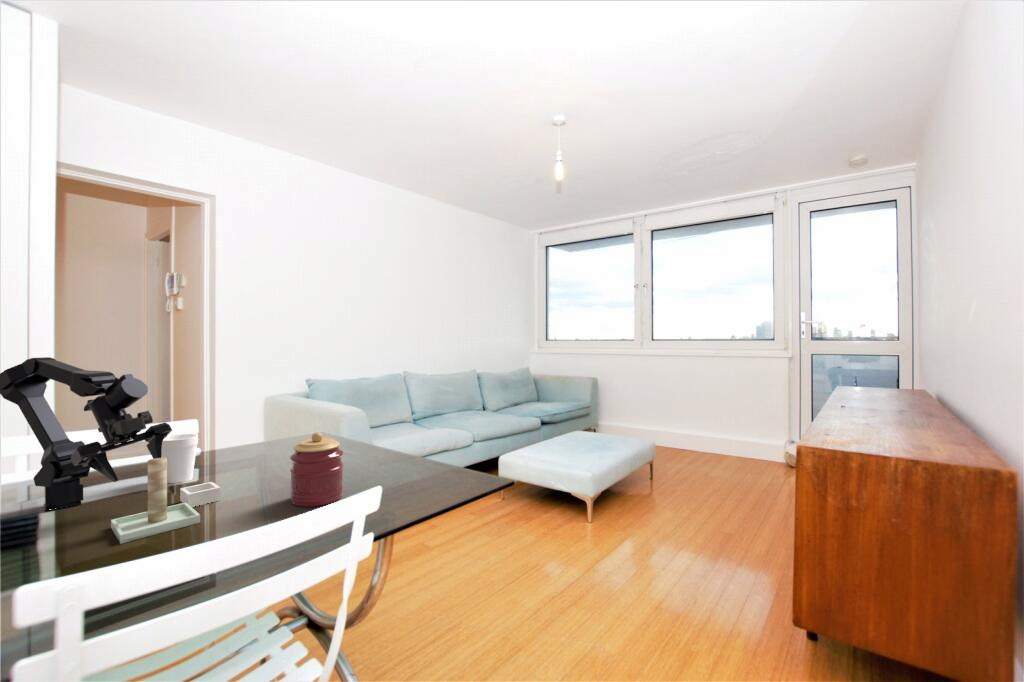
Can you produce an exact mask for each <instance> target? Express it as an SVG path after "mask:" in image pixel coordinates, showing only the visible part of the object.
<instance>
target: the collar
mask: <svg viewBox="0 0 1024 682" xmlns="http://www.w3.org/2000/svg"><path fill="white" fill-rule="evenodd" d="M179 492H180V497H179V498H180V501H181V502H182V503H185V502H186V503H187V504H189V505H190V506H191V507H192V508H195V506H196V507H199V505H200V506H205V505H208V504H207V503H209V504H212V503H211V502H213V503H216V501H217V502H220V501H221V487H220V486H219V485H217V484H216V483H214V482H213V481H210V482H209V481H208V482H204V483H200V484H196V485H190V486H185V487H180V488H179ZM181 502H180V503H181Z"/></svg>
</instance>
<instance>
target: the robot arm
mask: <svg viewBox="0 0 1024 682" xmlns="http://www.w3.org/2000/svg"><path fill="white" fill-rule="evenodd" d="M50 380H53V381H54V382H58V383H61V384H63V385H67V386H68V387H69V390H70V392H72V393H73V394H75V395H77V396H79V397H82V398H85V397H86V398H87V397H95V396H96V397H95V398H94V399H93V398H92V399H88V400H87V401H86V404H85V405H84V407H83V411H84V412H90V411H91V412H92V414H93V416H94V419H95V422H96V423H97V425H98V428H97V430H98V433H101V434H102V435H103V437H104V439H105V443H103V444H101V443H100V442H99V441H94V442H90V443H87V444H85V442H83V441H82V440H80V441H72V440H70V438H69V437H68V434H66V433H67V432H65V430H64V429H63V427H62V425H61V423H60V422H59V420H58V417H57V416H56V414H55V413H54V411H53V410H52V408H51V406H50V404H49V402H48V401H47V399H46V398H45V395H44V394H45V393H46V389H47V385H48V384H47V383H48V382H49V381H50ZM148 391H149V387H148V385H147V384H146V383H145V382H143V381H142V380H140V379H139V378H136V377H134V375H133V374H132V373H130V374H129V373H128V374H123V375H121V376H119V377H116V375H115V374H114V373H113V372H111V371H106V370H105V371H103V370H87V369H83V368H80V367H77V366H74V365H71V364H68V363H65V362H62V361H59V360H57V359H56V358H53V357H51V356H49V357H31V358H28V359H25V361H22V362H21V363H19V364H18V365H15V366H12V367H10V368H7V369H4V371H2V372H0V395H1V397H2V398H3V399H4V400H7V401H9V402H11V403H13V404H15V405H17V406H18V408H19V410H20V411H21V413H22V415H23V417H24V418H25V420H26V422H27V424H28V425H29V427H30V429H31V431H32V433H33V435H35V438H36V439H37V441H38V443H39V445H40V446H41V448H42V450H43V454H42V457H41V460H40V465H41V468H40V469H39V470H38V471H37V473H35V475H34V476H33V481H34V484H35V486H36V487H44V503H43V508H45V509H44V511H45V510H49V509H55V508H61V507H65V508H67V507H66V506H70V507H74V506H73V505H75V506H80V505H82V503H83V502H82V501H83V500H84V484H83V482H81V479H84V478H88V477H89V474H90V470H91V469H93V470H95V471H97V472H99V473H101V474H102V475H103V476H105V477H106V478H108V479H109V480H111V481H112V482H113V483H116V482H118V480H119V478H118V477H117V474H116V472H115V470H114V468H113V466H112V465H111V463H110V462H109V460H108V457H107V452H109V451H112V450H116V449H119V448H122V447H126V446H129V445H132V444H133V445H134V444H137V443H139V442H143V441H145V442H147V444H146V448H147V450H148V451H149V453H150V455H151V457H152V459H155V458H162V442H163V440H164V439H165V438H166V437H167V436H169V434H170V433H171V432H172V431H173V428H172V426H171V424H169V423H167V422H162V423H158V424H155V425H151V426H149V427H148V428H147V425H149V424H153V422H154V419H153V415H152V414H151V412H150V410H145V411H142V412H137V416H136V417H133V416H132V414H131V413H127V411H126V409H129V408H130V407H131V406H132V405H134V404H136V402H138V401H140V400H141V399H143V398H144V397H145V396H146V395H147V394H148ZM142 430H146V431H144V432H141V431H142ZM140 432H141V433H140ZM61 509H62V508H61Z"/></svg>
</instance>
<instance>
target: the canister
mask: <svg viewBox="0 0 1024 682" xmlns="http://www.w3.org/2000/svg"><path fill="white" fill-rule="evenodd" d="M340 445H341V444H340V442H339V441H337V440H335V439H334V438H332V437H323V434H322V433H321V432H317V431H316V432H314V433H313V434H312V435H311V438H309V439H303V440H301V441H300V442H299V443H298V444H296V445H295V446H294V447H293V450H294V453H292V454H291V455H290V461H292V464H291V465H292V466H291V468H290V470H289V471H290V487H291V488H290V493H289V494H290V495H289V497H290V500H291V503H292V504H293V505H294V506H297V507H302V508H303V507H305V508H306V507H308V508H309V507H319V506H324V505H330V504H331V503H334V502H337V501H338V500H340V499H341V498H342V497H343V493H344V491H345V490H344V483H343V481H344V468H343V467H344V462H342V456H343V454H344V451H343V449H342V448H340V447H339V446H340ZM341 496H342V497H341ZM340 497H341V498H340Z"/></svg>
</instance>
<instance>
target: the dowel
mask: <svg viewBox="0 0 1024 682" xmlns="http://www.w3.org/2000/svg"><path fill="white" fill-rule="evenodd" d="M167 507H168V483H167V458H155V459H153V458H151V459H148V460H147V511H148V523H157V522H161V521H164V520H166V519H167Z"/></svg>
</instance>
